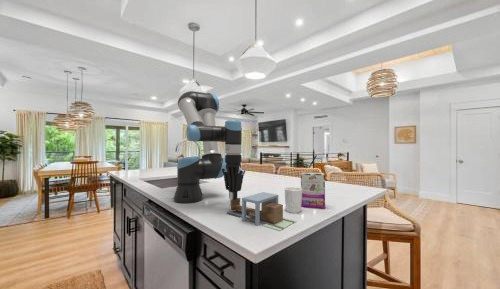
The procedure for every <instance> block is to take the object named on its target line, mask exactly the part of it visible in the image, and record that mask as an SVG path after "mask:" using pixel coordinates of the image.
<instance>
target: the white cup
mask: <svg viewBox="0 0 500 289" xmlns="http://www.w3.org/2000/svg"><path fill="white" fill-rule="evenodd" d="M301 203H302V189H301V187H296V186H295V187H294V186H293V187H292V186H290V187H285V188H284V204H285V211H286V212H287V213H292V214H293V213H295V214H298V213H300V212H302V207H301Z"/></svg>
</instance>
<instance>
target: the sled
mask: <svg viewBox="0 0 500 289" xmlns="http://www.w3.org/2000/svg"><path fill="white" fill-rule="evenodd" d="M260 207H261V208H260V221H263V222H267V223H272V224H276V223H278V222H280V221H282V220H283V218H284V204H282V203H281V204H280V203H278V204H277V203H272V202H269V203H266V204H263V205H262V204H261V205H260ZM235 210H237V211H241V212H242V204H241V198H240V197H237V199H235V200H234V199H233V200H231V207H230V211H231V212H232V211H235ZM246 213H248V215H253V216H255V208H252V207H248V206H246Z"/></svg>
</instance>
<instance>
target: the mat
mask: <svg viewBox="0 0 500 289" xmlns="http://www.w3.org/2000/svg"><path fill="white" fill-rule="evenodd" d="M283 219H287V220H291V221H294V223H293V222H289V221H285V220H282V221H280V222H278V223H276V224H274V225H277V226H280V227H283V230H284V229H286V228H288V227H290V226H291V225H293V224H295V223H297V220H293V219H290V218H285V217H283ZM270 224H272V223H270ZM262 227H265V228H269V229H271V230H275V231H279V232H280V231H283V230H282V229H281V228H278V227H274V226H271V225H267V224H262Z"/></svg>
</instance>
